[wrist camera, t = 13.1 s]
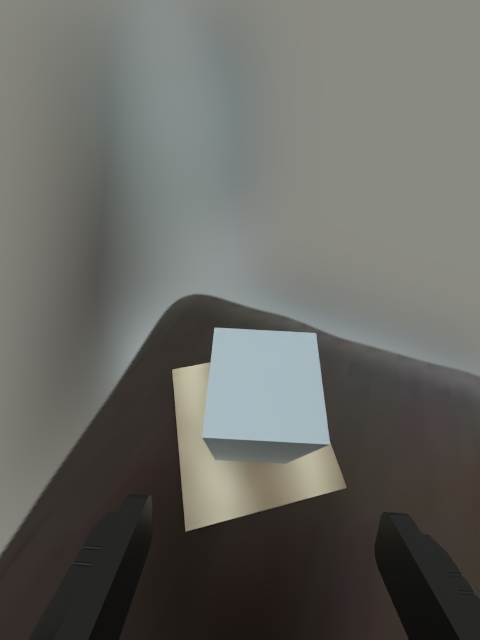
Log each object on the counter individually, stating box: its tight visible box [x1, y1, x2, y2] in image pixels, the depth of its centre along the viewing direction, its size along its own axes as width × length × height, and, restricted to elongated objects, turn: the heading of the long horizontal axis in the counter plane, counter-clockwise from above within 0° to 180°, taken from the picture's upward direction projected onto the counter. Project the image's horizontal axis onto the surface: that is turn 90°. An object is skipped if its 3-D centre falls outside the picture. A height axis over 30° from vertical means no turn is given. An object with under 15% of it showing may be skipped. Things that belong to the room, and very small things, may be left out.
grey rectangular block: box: [202, 328, 330, 464], centre depth 16 cm, size 5×5×10 cm
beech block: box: [172, 363, 347, 531], centre depth 22 cm, size 11×11×4 cm
